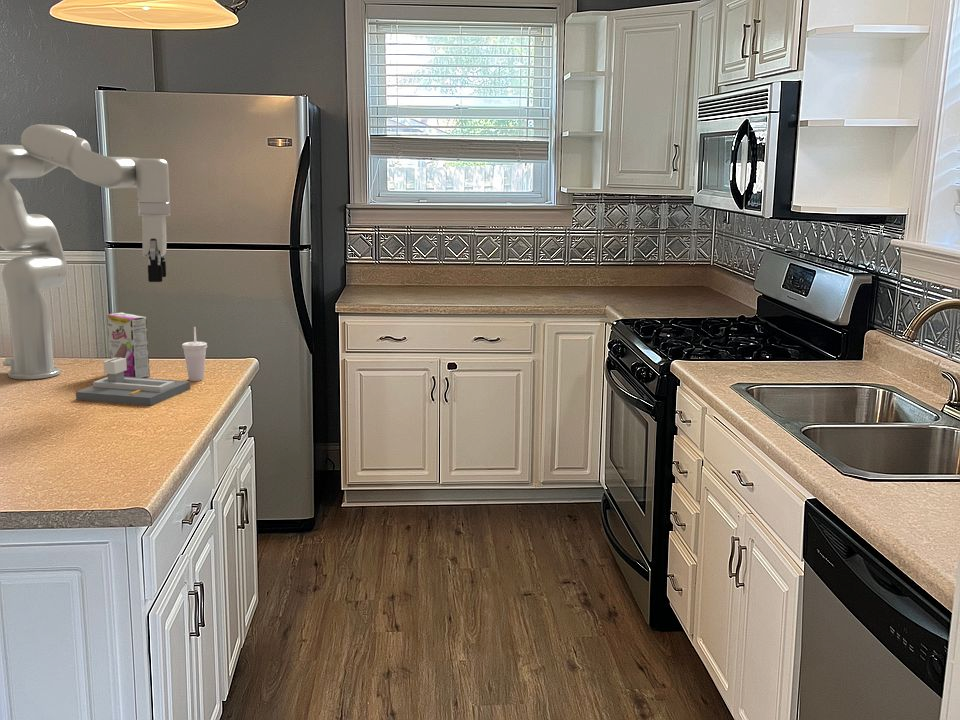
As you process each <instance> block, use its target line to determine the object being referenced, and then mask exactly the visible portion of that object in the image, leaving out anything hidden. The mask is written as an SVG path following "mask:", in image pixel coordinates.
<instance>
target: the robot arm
mask: <svg viewBox="0 0 960 720" xmlns="http://www.w3.org/2000/svg"><path fill="white" fill-rule="evenodd" d="M20 142H21V144H0V248H2V249H3V250H5V251H6V252H10V253H19V252H20V253H21V252H27V251H28V252H29V251H30V252H31V254H29V255H24V256H23V255H22V256H17V257H14V258H11V259H10V260H8V261H7V262H6V263H5V264H4V266H3V268H2V272H1V276H2V277H1V279H2V283H3V286H4V290H5V293H6V297H7V302H8V303H7V304H8V309H9V320H10V329H11V330H10V331H11V333H10V334H11V344H12V356H13V357H6V358H5V359H4V360H2V361H3V362H2V366H3V367H10V370H9V371H8V373H7V375H8V378H11V379H16V380H38V379H46V378H52V377H55V376H58V375H60V373H61V368H60V367H58V366H55V365H54V352H53V339H52V327H51V325H52V324H51V315H50V314H51V313H50V306H49V304H48V301H47V298H45V296H44V294H43V292H42V291H48V290H52V289H53V290H54V289H58V288H61V287H62V286H63V285H65V283H66V282H67V280H68V277H69V267H68V263H67V260H66V255H65V252H64V249H63V246H62V242H61V239H60V236H59V232H58V230H57V228H56V226H55V224H54V223H53V221H52V220H51V219H50V217H49V218H48V216H45V215H43V214H40V213H28V212H27V210H26V207H25V204H24V201H23V200H24V199H23V197H22V195H21V193H20V192H19V190H18V189H17V188H16V187H15V185H14V184H13V183H12V182H11V181H10V180H11V179H35V178H36V179H38V178H41V177H43V176H45V175H47V174H48V173H50V172H51V171H54V169H57V168H59V167H60V168H63V169H66V170H69V171H71V173H72V174H73V175H75V177H77V178H79V180H82V181H84V182H87V183H89V184H93V185H96V186H99V187H101V188H105V189H136V191H137V192H136V195H137V213H138V214H137V215H138V217H142V221H141V225H142V228H141V230H142V231H141V232H142V233H141V235H142V237H141V238H142V240H141V241H142V256H143V257H144V258H146V257H148V259H147V275H148V276H147V278H148V279H147V281H148V283H162V282H163V278H165V277H167V264H166V259H165V258H166V257H165V255H166V254H167V246H168V245H167V244H168V243H167V217H170V216H171V202H170V201H171V199H170V198H171V197H170V175H169V174H170V173H169V171H170V169H169V163H168V162H167V160H166V159H164V158H150V157H149V158H146V157H145V158H141V157H134V156H132V157H131V156H108V155H107V156H106V155H103V154H101V153H97V152H95V151H93V150H92V147H91V145H90V143H89V142H88V140H86V139H84V138H83V137H79V136H77V134H76V133H75V132H74V131H73V130H72V129H71V128H69V127H67V126H65V125H60V124H59V125H58V124H44V123H40V124H39V123H37V124H33V125H30V126H28V127H27V128H25V129H24V130H23V132H22V134H21V137H20Z"/></svg>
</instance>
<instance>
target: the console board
mask: <svg viewBox="0 0 960 720" xmlns="http://www.w3.org/2000/svg"><path fill="white" fill-rule="evenodd" d="M92 383H93V385H91V386H89V387H85V388H82V389H80V390H77V391H75V399H76V401H83V400H84V401H85V402H97V403H107V404H108V403H109V404H110V403H111V404H119V403H121V404H122V405H131V404H134V405H133V406H143V405H144V407H152V406H155V405H157V404H159V403H161V402H164V401H166V400H169V399H171V398H172V397H175V396H177V395H180V394H182V393H184V392H186V391H189V390H191V381H190V380H189V381H188V380H179V379H162V378H150V377H146V378H139V377H126V376H124V383H116V382H108V376H107V377H106V376H105V377H103V378H101V379H98V380H96V381H93V382H92ZM121 404H120V405H121Z"/></svg>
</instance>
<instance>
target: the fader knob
mask: <svg viewBox="0 0 960 720" xmlns="http://www.w3.org/2000/svg"><path fill="white" fill-rule="evenodd" d="M125 370H127V364H126V358H121V357H119V358H112V359H110V358H109V359H106V360H103V374H104V375H105V374H107V377H108V382H116V383H124V371H125Z"/></svg>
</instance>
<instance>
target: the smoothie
mask: <svg viewBox="0 0 960 720" xmlns="http://www.w3.org/2000/svg"><path fill="white" fill-rule="evenodd" d="M181 346H182V347H181V348H182V349H183V353H184V359H185V360H184V361H185V364H186V365H185V366H186V370H187V378H188V380H189V381H190V382H200V380H201V381H203V380H204V377H205V365H206V363H205V362H206V355H207V354H206V352H207V348H208V342H205V341H197V327H196V326H193V341H188V342H187V341H186V342H184V343H182V344H181Z"/></svg>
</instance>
